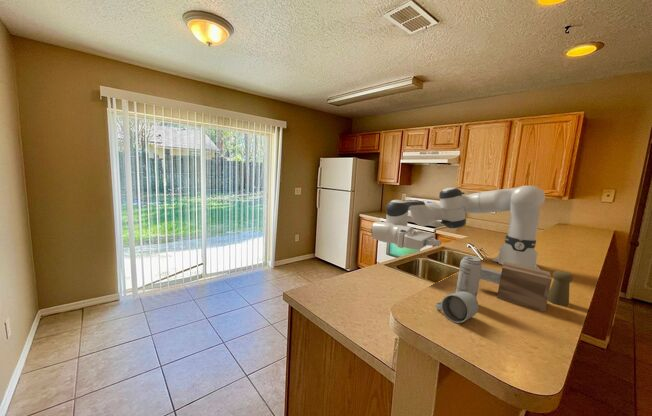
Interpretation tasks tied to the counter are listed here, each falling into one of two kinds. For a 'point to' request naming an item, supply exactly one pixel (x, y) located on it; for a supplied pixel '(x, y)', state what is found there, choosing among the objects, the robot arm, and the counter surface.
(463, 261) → the energy drink can
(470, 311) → the ceramic mug
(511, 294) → the block
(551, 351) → the counter surface
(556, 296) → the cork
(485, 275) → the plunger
